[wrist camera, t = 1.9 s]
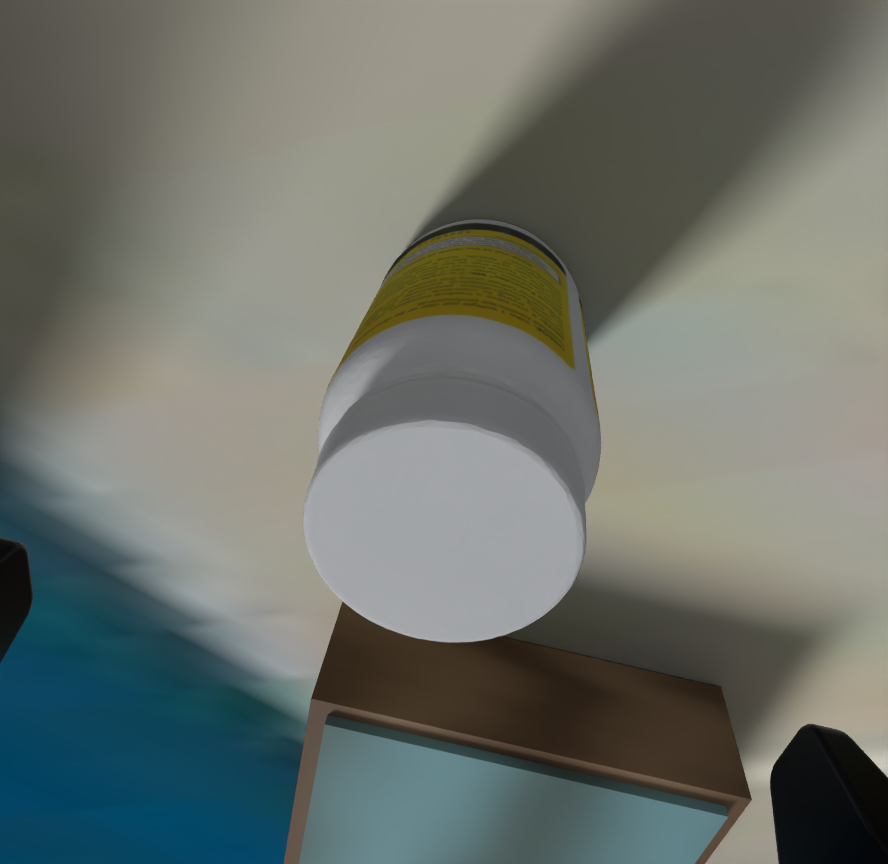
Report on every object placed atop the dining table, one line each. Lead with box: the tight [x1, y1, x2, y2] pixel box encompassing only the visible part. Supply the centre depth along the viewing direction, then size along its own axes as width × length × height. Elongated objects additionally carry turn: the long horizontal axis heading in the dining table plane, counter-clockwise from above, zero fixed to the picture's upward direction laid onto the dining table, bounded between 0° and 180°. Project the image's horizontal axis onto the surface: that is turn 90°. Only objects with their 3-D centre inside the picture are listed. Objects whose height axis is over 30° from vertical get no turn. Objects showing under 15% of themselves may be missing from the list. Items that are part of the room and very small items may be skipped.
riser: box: [284, 602, 752, 864], centre depth 24 cm, size 12×12×4 cm
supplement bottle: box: [303, 219, 601, 642], centre depth 14 cm, size 5×5×8 cm
